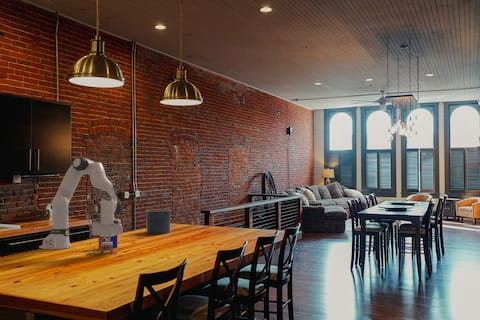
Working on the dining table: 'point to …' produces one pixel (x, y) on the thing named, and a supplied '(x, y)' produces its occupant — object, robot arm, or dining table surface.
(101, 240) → the puzzle cube
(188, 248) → the dining table surface
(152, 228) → the planter
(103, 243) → the stool
